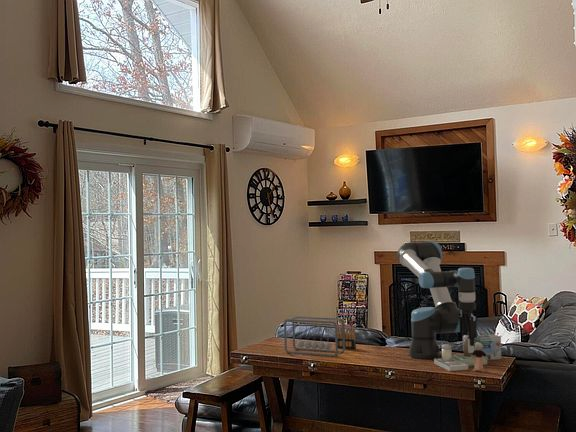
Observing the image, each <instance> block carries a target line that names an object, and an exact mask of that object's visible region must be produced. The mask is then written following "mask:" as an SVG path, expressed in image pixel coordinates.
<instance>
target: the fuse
mask: <svg viewBox="0 0 576 432" xmlns="http://www.w3.org/2000/svg"><path fill="white" fill-rule="evenodd" d="M452 350H453V349H452V344H449V343H447V344H446V343H444V344H441V359H442V361H443V362H450V361H452V355H453V354H452Z"/></svg>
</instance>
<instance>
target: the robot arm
mask: <svg viewBox="0 0 576 432" xmlns="http://www.w3.org/2000/svg"><path fill="white" fill-rule="evenodd" d="M396 257H397V261H398V262H399V264H401V266H403V267H406V268H407V269H409V271H411V272H412V273H413V274H414V275H415V276H417V278H418V284H419V286H420V288H422V289H429V290H430V294H431V298H432V299H433V302H434V306H435V307H433V306H427V307H426V306H425V307H419V308H416V309H415V308H414V309H413V310H412V312H411V315H410V316H411V319H410V321H411V322H410V323H411V325H410V326H411V341H410V346H409V350H408V356H409V357H411V358H414V359H420V360H421V359H423V360H424V359H427V360H428V359H435V358H436V359H438V358H440V357H441V351H440V348H439V347H440V346H439V344H438V342H437V334H451V333H452V334H455V333H459V335H461V337H463V335H469V337H468V353H473V352H474V351H475V338H477V336H478V335H477V333H478V332H477V330H478V329H477V327H478V326H477V320H478V317H477V316H474V311H475V310H476V308H477V306H476V302H475V301H476V275H475V269H474V268H473V267H459V268H458V269H457V270H456V269H455V270H453V269H452V270H449V271H448V270H446V271H445V270H444V271H442V269H441V266H440V265H441V263H442V261H443V250H442V247H441V246H440V244H439V243H437V242H436V241H430V240H429V241H414V242H411V241H410V242H406V243H404V244H402V245H401V246H400V247H399V248H398V251H397V253H396ZM453 287H455V288H456V287H457V288H458V294H457V296H458V306H457V303H456V302H454V301H453V300H452V298H451V294H450V292H449V289H448V288H453ZM462 351H463V352H464V341H463V340H462Z"/></svg>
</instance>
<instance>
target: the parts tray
mask: <svg viewBox="0 0 576 432" xmlns="http://www.w3.org/2000/svg"><path fill="white" fill-rule="evenodd" d="M482 357H483V356H482ZM452 358H454V359H456V360H458V361H460V362H463V363H465V364H467V365H468V367H473V366H474V367H475V355H474V359H464V353H456V354H455V353H454V354H452ZM487 365H488V360H486V359H485V357H483V366H487Z"/></svg>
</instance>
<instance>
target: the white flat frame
mask: <svg viewBox="0 0 576 432" xmlns="http://www.w3.org/2000/svg"><path fill="white" fill-rule="evenodd" d="M433 360H434V361H433V363H434V364H435V365H437V366H439V367H441V368H443V369H444V370H446V371H448V372H453V371H455V372H456V371H467V370H468V371H469V366H468V365H467V364H465V363H463V362H460V361H458V360H456V359H454V358H452V361H450V362H443V361H442V358H433Z"/></svg>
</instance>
